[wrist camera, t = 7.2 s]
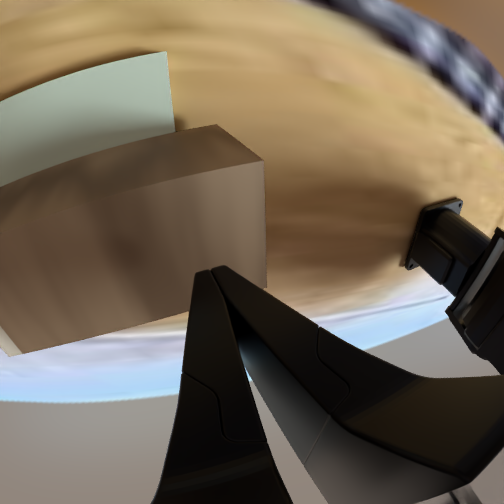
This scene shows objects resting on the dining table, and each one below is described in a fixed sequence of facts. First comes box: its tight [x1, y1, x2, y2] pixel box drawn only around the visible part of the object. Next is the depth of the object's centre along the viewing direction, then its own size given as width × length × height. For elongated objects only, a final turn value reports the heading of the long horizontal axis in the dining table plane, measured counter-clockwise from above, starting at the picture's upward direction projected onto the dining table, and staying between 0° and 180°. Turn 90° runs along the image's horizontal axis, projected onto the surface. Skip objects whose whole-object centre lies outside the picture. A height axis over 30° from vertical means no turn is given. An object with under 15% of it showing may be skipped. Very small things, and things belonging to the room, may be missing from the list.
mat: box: [0, 51, 175, 187], centre depth 12 cm, size 11×12×1 cm
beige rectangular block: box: [0, 124, 267, 357], centre depth 11 cm, size 5×5×11 cm
